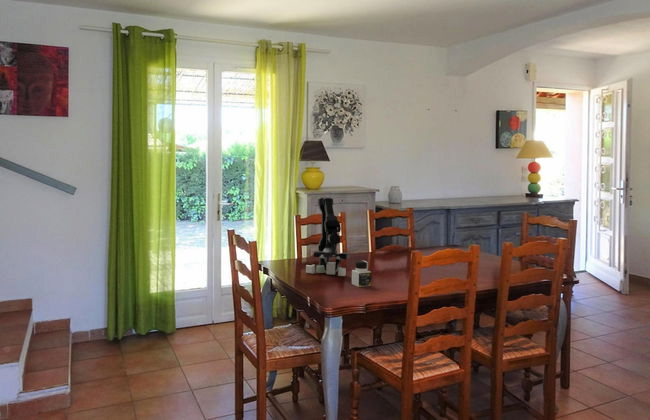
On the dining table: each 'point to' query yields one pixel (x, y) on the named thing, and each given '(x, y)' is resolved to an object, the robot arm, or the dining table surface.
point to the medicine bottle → (361, 274)
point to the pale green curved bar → (322, 269)
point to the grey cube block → (330, 268)
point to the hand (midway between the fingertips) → (330, 270)
